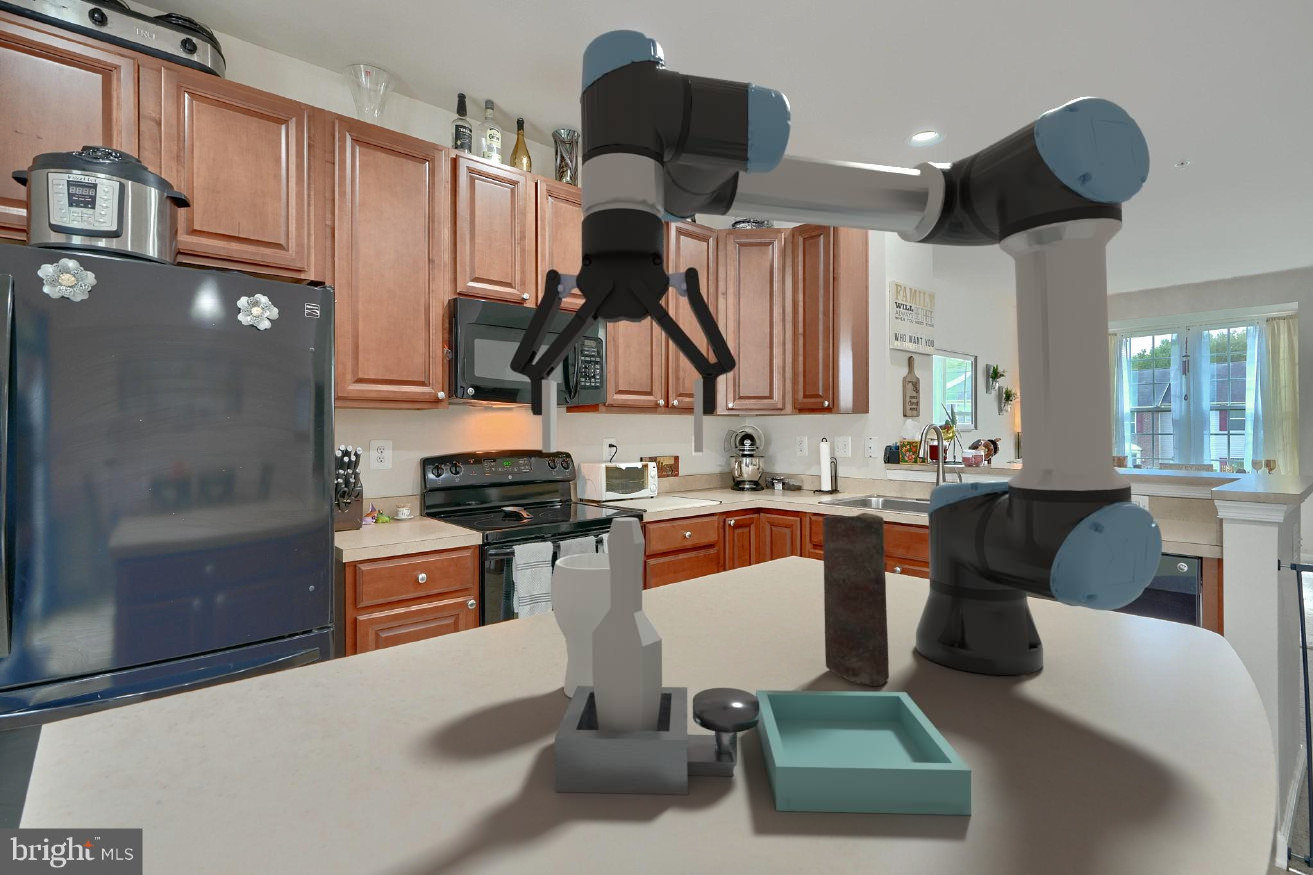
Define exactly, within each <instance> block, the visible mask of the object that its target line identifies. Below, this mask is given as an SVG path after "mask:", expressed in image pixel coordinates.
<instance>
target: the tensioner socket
mask: <svg viewBox="0 0 1313 875" xmlns="http://www.w3.org/2000/svg"><path fill="white" fill-rule="evenodd" d="M570 699H571V700H570V701H569V704H568V707H567V709H566V712H565V713H564V716H563V717H562V720H561V723H560V725H559V727H558V730H557V731H556V734H555V737H554V792H555V793H585V794H586V793H592V794H593V793H594V794H595V793H596V794H601V793H602V794H604V793H605V794H637V795H638V794H639V795H640V794H641V795H644V794H645V795H647V794H649V795H653V794H654V795H682V796H683V795H687V796H688V776H703V777H705V776H706V777H707V776H708V777H709V776H710V777H711V776H713V777H734V776H735V775H734V773H735V772H734V768H735V766H736V765H737V763H738V733H742V732H746V731H750V730H752V729H753V728H755V727H757V726H756V725H757V724H758V723H759V700H758V698H757V697H756V695H754V694H753V693H751V692H749V691H747V690H743V689H739V688H733V687H732V688H731V687H714V688H708V689H705V690H702V691H699V692H697V693H696V694H695V695H694V696H693V698H692V719H693V722H694V723H695V724H696V725H697V726H699V727H700V728H703V729H706V730H708V731H711V732H714V734H688V687H687V686H686V687H685V686H682V687H681V686H677V687H676V686H662V690H661V699H660V707H659V716H658V724H657V731H612V730H599V728H598V720H597V711H596V703H595V695H594V687H593V686H577V688H576V690H575V693H574V695H573V697H572V698H570Z"/></svg>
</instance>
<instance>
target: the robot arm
mask: <svg viewBox="0 0 1313 875" xmlns="http://www.w3.org/2000/svg"><path fill="white" fill-rule="evenodd" d="M664 56H665V55H664V52H663V49H662V47H661V45H660V44H659V43H658V42H657V40H655V39H654V38H651V37H650V38H649V37H647V35H645V33H643V32H642V31H637V30H633V29H632V30H631V29H615V30H612V31H608V32H604V33H602V34H601V35H598V36H597V37H595V38H594V39H592V40H591V41H590V43H589V44H588V45H587V46H586V49H585V50H584V53H583V55H582V71H581V73H582V76H581V92H580V97H579V103H580V127H581V128H580V129H581V130H580V131H581V132H580V133H581V134H580V136H581V170H580V171H581V172H580V177H581V178H580V180H581V181H580V184H581V186H580V188H581V189H580V190H581V191H580V193H581V194H580V195H581V199H580V201H581V203H580V205H581V207H580V208H581V213H582V214H583V216H584V219H582V221H581V266H580V270H579V272H578V274H568V273H561V272H559V271H558V270H556V269H554V268H552V269H549V270H548V271H547V272H546V274H545V280H544V281H545V282H544V291H543V295H542V297H541V300H540V302H539V303H538V305H537V307H536V309H535V310H534V311H535V312H534V314H533V316H532V318H531V320H530V321H529V323H528V326H527V328H526V329H525V332H524V334H523V336H522V338H521V341H520V342H519V344H518V347H517V349H516V351H515V353H514V355H513V357H512V358H511V361H510V364H509V368H510V370H511V371H512V372H515V373H516V374H520V375H522V376H525V377H527V378H528V379H529V381H530V410H531V412H532V415H533V416H541V423H542V424H541V434H542V435H541V438H542V440H541V443H542V445H541V449H542V450H541V451H542V453H556V452H558V440H557V438H558V435H557V434H558V432H557V430H558V428H557V427H558V425H557V424H558V423H557V422H558V421H557V420H558V418H557V416H558V415H557V411H558V410H557V409H558V407H557V406H558V405H557V404H558V403H557V401H558V398H557V390H558V388H557V385H558V384H557V381H554V380H552V379H549V378H550V377H551V375H552V374H553V373H554V371H556V369H557V368H558V367H559V365H560V364H561V363H562V362H563V361H564V359H566V357H567V356H568V355H569V354H570V352H571V351H572V350H573V349H574V347H575V346H576V345H577V344H578V343H579V341H580V340H581V339H582V338H583V337H584V336H585V334H587V332H588V331H589V330H590V329H591V328H593V326H594V325H595V324H596V322H598V320H599V319H601V321H604V322H607V324H608V323H609V324H610V323H611V324H615V323H619V322H623V321H625V322H629V323H634V324H635V323H642V321H645V320H647V319H648V318H649V317H650V319H652V321H653V322H654V323H655V324H656V325H657V327H659V329H660V330H662V332H663V333H664V334H665V335H666V337H667V338H668V339H669V340H670V342H672V343H673V344H674V346H675V347H676V349H678V351H680V353H681V354H682V355H683V356H684V357H685V358H686V360H687V361H688V362H689V363H690V364H691V365H692V367H693V368H694V369H695V371H696V372H698V374H699V375H700V376H701V378H694V379H693V452H694V453H703V452H704V415H705V416H707V415H708V416H714V413H715V411H716V404H717V403H716V402H717V401H716V400H717V398H716V396H717V395H716V391H717V390H716V382H717V379H718V378H719V377H721V376H723V375H726V374H729V373H730V374H731V373H732V372H733V371H734V369H735V368H736V366H737V363H736V360H735V357H734V355H733V353H732V352H731V349H730V347H729V346H728V343H727V341H726V339H725V338H724V336H723V333H722V332H721V330H720V328H719V326H718V324H717V322H716V320H715V318H714V316H713V314H712V312H711V310H710V308H709V306H708V304H707V302H706V300H705V298H704V296H703V294H702V292H701V285H700V277H699V276H700V275H699V270H698V269H697V268H696V267H694V266H693V267H692V266H690V267H688V268H687V269H686V270H685V271H682V272H681V271H680V272H674V273H668V272H667V270H666V268H665V223H664V222H667V223H681V222H684V221H687V220H690V219H692V218H694V217H695V216H696V214H697V215H707V216H708V215H711V216H724V217H734V218H743V219H753V220H765V221H772V222H773V221H775V222H784V223H795V224H806V225H814V226H826V227H836V228H837V227H838V228H847V229H857V230H866V231H867V230H869V231H879V232H888V233H896V234H897V236H898V237H899V238H900V239H901V240H902V241H904V242H908V243H918V244H924V245H936V246H937V245H939V246H950V247H986V246H995V245H998V246H999V249H1000V250H1001V251H1002V252H1004V253H1005V254H1007V256H1010V257H1011V258H1012V260H1014V272H1015V273H1014V274H1015V275H1014V276H1015V296H1016V297H1015V300H1016V303H1015V305H1016V326H1017V329H1016V330H1017V332H1016V333H1017V355H1018V358H1017V359H1018V360H1017V361H1018V382H1019V384H1018V385H1019V386H1018V387H1019V412H1020V440H1021V441H1020V443H1021V468H1020V470H1019V471H1017V473H1015V474H1014V475H1013V476H1012V477H1011V478H1010V479H1009V480H988V481H987V480H986V481H974V482H973V481H972V482H971V481H969V482H968V481H967V482H955V483H946V484H945V483H942V484H939V485H936V486H935V487H934V488H933V489H932V490H931V492H930V495H929V505H928V506H929V507H928V511H927V518H928V558H929V559H928V560H929V561H928V562H929V564H928V567H929V590H928V596H927V599H926V602H925V605H924V607H923V611H922V612H921V613H922V614H921V616H920V618H919V621H918V625H917V627H916V632H915V650H916V651H917V652H918V653H919V654H920V655H921V656H923V657H924V658H926V659H928V660H930V661H931V662H934V663H937V664H940V665H943V666H946V667H949V668H952V669H957V670H962V671H967V672H970V673H971V672H972V673H978V674H979V673H980V674H986V675H996V676H997V675H999V676H1000V675H1001V676H1002V675H1003V676H1007V675H1008V676H1010V675H1012V676H1014V675H1015V676H1016V675H1024V674H1025V675H1026V674H1029V673H1035V672H1037V671H1039V670H1040V669H1042V668H1043V666H1044V646H1043V643H1042V640H1041V638H1040V634H1039V631H1038V629H1037V625H1036V623H1035V620H1034V617H1033V615H1032V612H1031V609H1030V606H1029V603H1028V593H1030V594H1035V595H1039V596H1041V597H1043V598H1048V599H1052V600H1054V601H1058V602H1059V603H1061V604H1064V605H1066V606H1070V607H1082V608H1087V609H1092V610H1095V611H1112V610H1117V609H1120V608H1123V607H1126V606H1127V605H1129V604H1131V603H1133V601H1135V600H1137V599H1138V598H1139V597H1140V596H1141V595H1142V594H1143V592H1144V590H1145V589H1146V588H1147V587H1149V585H1150V584H1151V582H1152V581H1153V579H1154V577H1155V575H1156V574H1157V571H1158V568H1159V566H1160V563H1161V559H1162V551H1163V539H1162V534H1161V528H1160V525H1159V524H1158V522H1157V521H1154V516H1153V515H1152V513H1151V512H1150V511H1148V510H1147V509H1146V508H1144V507H1141V506H1140V505H1138V504H1137V503H1132V484H1131V481H1130V480H1129V479H1128V478H1126V477H1125V476H1124V475H1123V474H1121V473H1120V472H1119V471H1117V470H1116V468H1115V467H1114V463H1113V462H1114V459H1113V458H1114V456H1113V455H1114V454H1113V429H1112V426H1113V425H1112V424H1113V423H1112V401H1111V400H1112V398H1111V397H1112V396H1111V371H1110V370H1111V369H1110V366H1111V365H1110V343H1109V342H1110V339H1109V335H1110V334H1109V312H1108V311H1109V310H1108V308H1109V307H1108V281H1107V280H1108V279H1107V278H1108V277H1107V276H1108V275H1107V249H1106V248H1107V245H1108V244H1109V242H1110V241H1111V240H1113V238H1114V237H1115V236H1116V235H1118V233H1119V232H1120V231H1121V230H1122V228H1123V203H1125V202H1127V201H1128V202H1129V201H1130V200H1131V199H1132V198H1133V197H1134V196H1136V194H1138V193H1139V192H1140V191H1141V190H1142V188H1143V187H1144V186H1143V184H1145V183H1146V181H1147V179H1148V176H1149V172H1150V163H1151V159H1150V151H1149V148H1148V143H1147V141H1146V137H1145V135H1144V133H1143V131H1142V128H1140V126H1139V125H1138V123H1137V122H1136V120H1135V119H1134V118H1133V117H1131V116H1130V115H1129V113H1128V112H1127V110H1125V109H1124V108H1123V107H1121V106H1120V105H1118V104H1117V103H1115V102H1114V101H1110V100H1108V99H1105V98H1103V97H1098V96H1086V97H1080V98H1077V99H1074V100H1071V101H1068V102H1067V103H1065V104H1063V105H1061V106H1059V107H1057V108H1053V109H1051V110H1047V111H1046V112H1044V113H1042V114H1041V115H1040V116H1039V117H1038V118H1036V119H1035V120H1033V121H1031V122H1030V123H1028V124H1027V125H1025V126H1023V127H1021V128H1020V129H1017V130H1016V131H1014V132H1012V133H1010V134H1008V135H1007V136H1005V137H1003V138H1001V139H999V140H998V141H996V142H993V143H992V144H990V145H989V146H987V147H985V148H983V149H981V150H979V151H977V152H975V153H973V154H971V155H969V156H967V157H963V158H961V159H959V160H954V161H951V162H945V163H937V162H936V163H934V162H926V161H925V162H921V163H918V164H916V165H915V166H913V167H912V168H910V169H909V168H902V167H895V166H887V165H886V166H885V165H878V164H869V163H862V162H861V163H860V162H854V161H853V162H852V161H848V160H847V161H844V160H837V159H828V158H823V157H822V158H821V157H814V156H813V157H812V156H803V155H799V154H798V155H797V154H790V153H789V154H787V153H786V150H787V147H788V144H789V139H790V134H791V127H792V125H791V120H792V118H791V116H792V115H791V108H790V104H789V100H788V99H787V97H786V96H785V94H783V92H781V91H779V90H777V89H773V88H768V87H765V86H761V85H756V84H753V82H742V81H735V80H727V79H723V78H722V79H721V78H713V77H706V76H699V75H692V74H683V73H680V72H679V71H674V70H669V69H667V65H666V61H665V60H664V58H665V57H664ZM669 288H674V289H675V290H676V291H677V294H678V296H680V297H682V298H686V297H687V303H688V305H689V308H690V309H691V312H692V314H693V315H694V317H695V319H696V321H697V323H698V325H699V328H700V329H701V331H702V333H703V336H704V338H705V339H706V341H707V344H708V345H709V347H710V348H711V351H712V353H713V355H714V357H715V359H716V360H717V361H715V362H711V361H710V360H709V359H708V358H707V357H706V355H705V354H704V353H703V352H702V351H701V350H700V348H699V347H698V346H697V345H696V344H695V342H694V341H693V340H692V339H691V338H690V337H689V336H688V334H687V333H686V332H685V331H684V330H683V329H682V327H681V326H680V325H679V324H678V323H677V322H676V320H675V319H674V318H673V316H671V315H670V313H669V312H668V311H667V309H666V308H665V307H664V306H663V304H662V303H661V300H662V299H663V298H664V296H665V295H666V294H667V292H668V291H669ZM575 289H577V290H578V292H580V293H581V295H582V297H583V298H584V299H585V300H584V302H582V304H581V305H580V307H578V309H577V310H576V312H575V313H574V316H573V317H572V319H571V320H570V321H569V322H568V323H567V324H566V325H565V327H564V328H563V329H562V331H561V332H560V333H559V334H558V335H557V336H556V338H554V340H553V341H552V342H551V344H550V345H549V346H548V347H547V348H546V350H545V351H544V352H543V353H542V354H541V355H540V357H539V358H538V359H537V360H536V362H535V359H536V357H537V355H538V354H539V351H540V349H541V347H542V345H543V343H544V341H545V338H546V337H547V336H548V332H549V331H550V329H551V327H552V325H553V323H554V320H555V318H556V317H557V315H558V312H559V310H560V308H561V306H562V302H563V299H566V298H568V297H570V294H571V292H572V291H573V290H575Z"/></svg>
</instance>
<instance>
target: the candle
mask: <svg viewBox="0 0 1313 875" xmlns="http://www.w3.org/2000/svg"><path fill="white" fill-rule="evenodd" d="M884 522H885V521H884V517H883V516H882V515H881V516H880V515H878V514H874V513H869V512H860V513H859V514H857V515H849V516H847V515H843V514H838V515H837V514H836V515H829V514H828V515H825V516H822V546H823V552H822V553H823V558H822V559H823V586H824V587H823V594H824V595H823V596H824V599H823V600H824V602H823V603H824V604H823V605H824V606H823V607H824V608H823V609H824V647H825V648H824V650H825V653H824V654H825V667H826V668H827V669H828V670H829V671H832V672H833V674H835V675H837V676H841V677H842V678H845V679H847V680H848V681H851V682H856V683H859V684H863V685H864V686H866V687H867V686H869V687H879V686H881V685H883V684H884V683H886V681H888V680H889V678H890V673H889V671H890V670H889V664H890V663H889V662H890V661H889V638H888V614H887V611H888V610H887V588H886V587H887V585H886V584H887V582H886V580H887V579H886V557H885V556H886V555H885V552H886V551H885V546H886V545H885V525H884Z"/></svg>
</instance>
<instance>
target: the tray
mask: <svg viewBox="0 0 1313 875" xmlns="http://www.w3.org/2000/svg"><path fill="white" fill-rule="evenodd" d="M755 696H756V697H757V698H758V700H759V723H758V724H757V725H756V726H755V727H756V730H757V734H758V738H759V743H760V746H761V752H762V755H763V760H764V762H765V763H764V764H765V769H766V771H767V776H768V781H769V785H770V789H771V793H772V794H771V795H772V799H773V802H774V805H775V807H774V808H775V810H776V812H811V813H812V812H814V813H815V812H817V813H820V812H821V813H858V814H859V813H860V814H866V813H868V814H900V815H901V814H903V815H904V814H905V815H906V814H907V815H909V814H910V815H957V816H972V770H971V768H970V767H969V766H968V765H967V763H966V762H965V761H964V760H963V759H962V757H961V756H960V755H959V754H958V753H957V752H956V750H955V749H954V748H953V747H952V746H951V745H950V743H949V742H948V741H947V739H946V738H945V737H944V736H943V735H942V734H941V732H939V730H938V729H937V728H936V727H935V725H934V724H933V723H932V722H931V721H930V720H929V718H928V717H927V716H926V715H925V713H924V712H923V711H922V710H921V708H919V706H918V705H917V704H916V703H915V701H914V700H913V699H912V698H911V697H910V696H909V695H908V693H907V692H905V691H899V692H898V691H847V690H845V691H840V690H839V691H837V690H836V691H835V690H833V691H832V690H831V691H829V690H828V691H827V690H775V689H774V690H769V689H765V690H762V689H761V690H760V689H759V690H757V689H756V690H755Z"/></svg>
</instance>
